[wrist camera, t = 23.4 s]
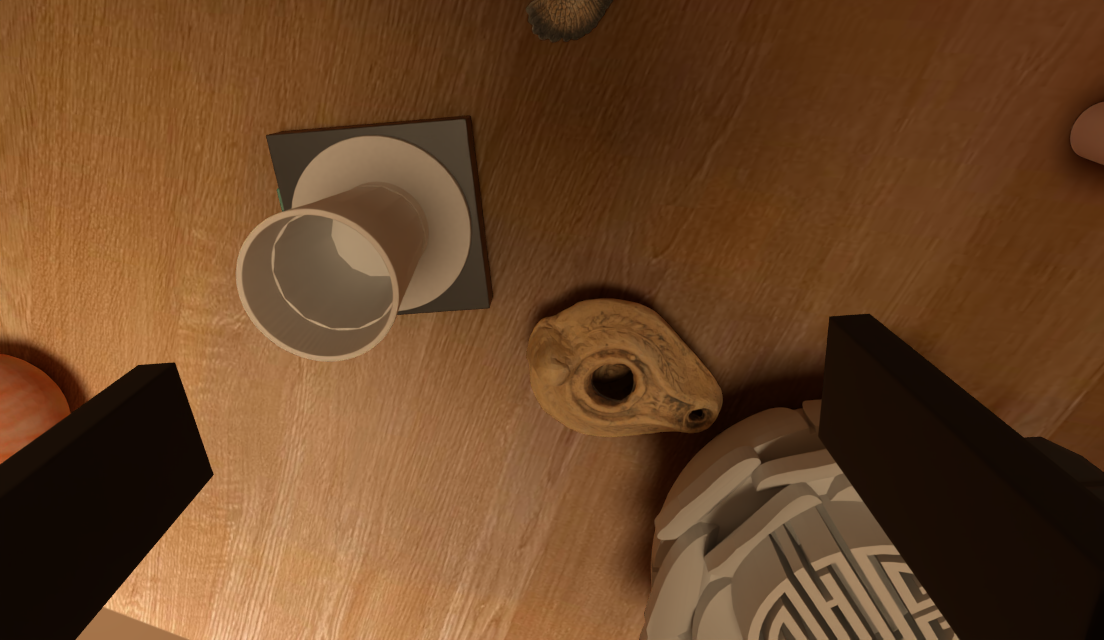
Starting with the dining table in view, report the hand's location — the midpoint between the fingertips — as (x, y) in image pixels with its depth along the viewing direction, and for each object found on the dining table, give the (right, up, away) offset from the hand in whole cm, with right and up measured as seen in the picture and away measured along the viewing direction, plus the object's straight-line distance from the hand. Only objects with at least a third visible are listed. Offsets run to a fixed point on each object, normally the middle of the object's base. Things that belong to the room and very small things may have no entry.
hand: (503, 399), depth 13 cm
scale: (-10, +9, +32) cm, 35 cm away
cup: (-10, +8, +29) cm, 32 cm away
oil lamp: (+6, -1, +36) cm, 37 cm away
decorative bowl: (+20, -13, +41) cm, 47 cm away
